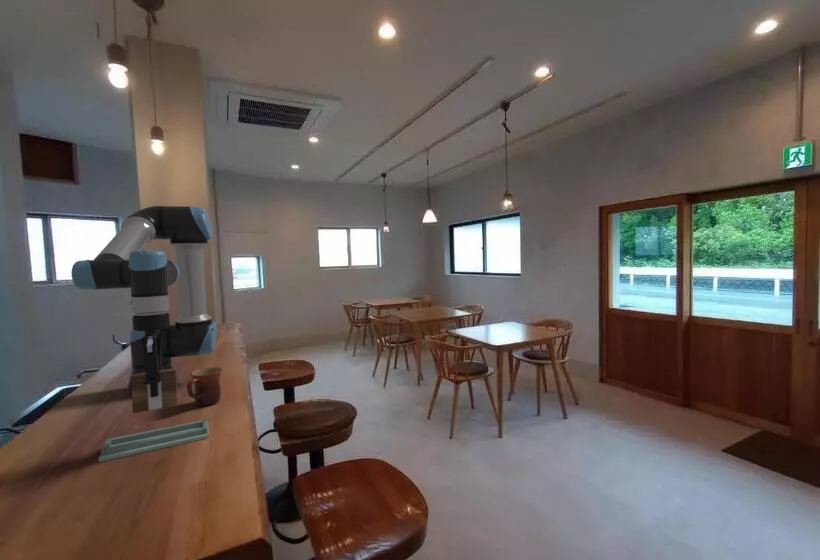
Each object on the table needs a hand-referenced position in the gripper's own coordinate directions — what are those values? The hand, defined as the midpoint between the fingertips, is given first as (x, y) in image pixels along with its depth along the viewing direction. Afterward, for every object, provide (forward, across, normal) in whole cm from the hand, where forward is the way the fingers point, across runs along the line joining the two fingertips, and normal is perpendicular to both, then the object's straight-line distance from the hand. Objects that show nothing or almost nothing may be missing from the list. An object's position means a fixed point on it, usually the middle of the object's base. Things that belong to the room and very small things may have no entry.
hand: (156, 406), depth 92 cm
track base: (+9, 0, 0) cm, 9 cm away
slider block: (0, 0, 0) cm, 0 cm away
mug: (+9, -21, +10) cm, 25 cm away
